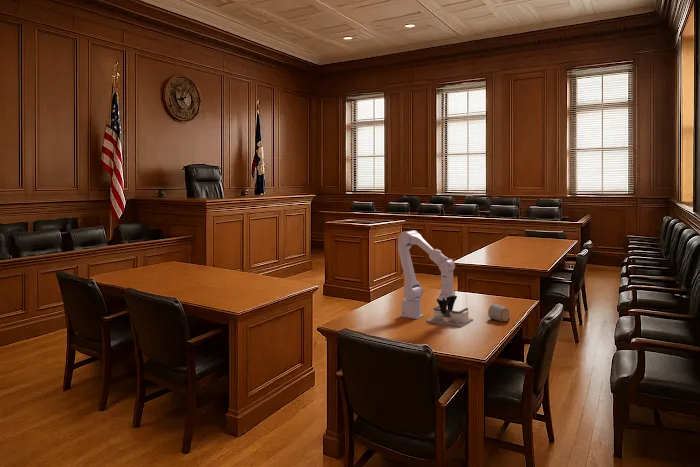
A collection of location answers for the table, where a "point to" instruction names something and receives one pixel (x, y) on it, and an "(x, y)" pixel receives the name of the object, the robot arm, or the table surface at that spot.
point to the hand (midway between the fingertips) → (446, 311)
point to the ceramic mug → (498, 312)
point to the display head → (447, 321)
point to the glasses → (448, 313)
